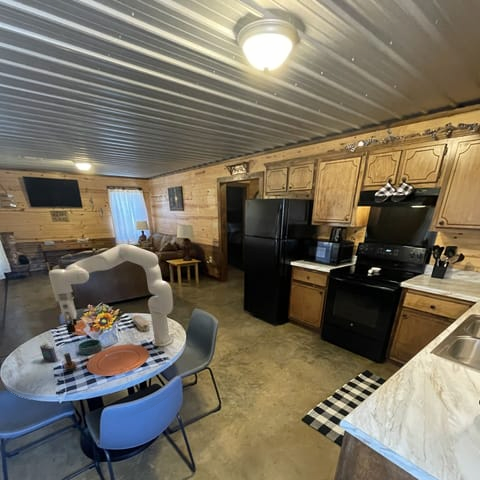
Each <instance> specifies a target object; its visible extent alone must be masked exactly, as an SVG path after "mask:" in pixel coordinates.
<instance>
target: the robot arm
mask: <svg viewBox="0 0 480 480" xmlns="http://www.w3.org/2000/svg"><path fill="white" fill-rule="evenodd" d="M124 262H130V263H133V264H136V265H138V266H141V267H142V268H143V270H144V272H145V275H146V281H147V283H146V284H147V289H148V292H149V294H152V295H153V296H151V297H149V299H148V301H147V307H148V310H149V313H150V317H151V318H150V319H151V325H152V332H153V339H152V340H151V341H152V344H153V346H156V347H165V346H168V345H170V344H171V343H172V342H173V338H172V336H174V335H175V332H174V331H172V332H170V331H169V323H168V315H170V314H171V313H172V312H173V309H174V297H173V290H172V287H171V285H170V283H168V282H167V281H165V280H163V277H162V272H161V267H160V265H159V257H158V256H157V254H155V253H154V252H152V251H149V250H146V249H144V248H141V247H138V246H136V245H133V244H127V243H121V244H118V245H115V246H114V247H112V248H109V249H107V250H105V251H103V252H101V253H98V254H94V255H92V256H89V257H86V258H83V259H80V260H78V261H76V262H74V263H71V264H69V265H68V266H67V267H65V268H55V269H51V270H49V272H48V277H49V281H50V285H51V288H52V293H53V295H54V299H55V302H58V303H59V307H60V308H59V309H60V312H61V315H62V318H63V321H65V325H66V326H65V327H66V330H67V334H71V333H76V332H77V331H76V326H78V323H77V315H78V313H77V309H76V306H75V302H74V299H75V295H74V291H73V287H72V285H82V284H85V283H87V282H88V281H89V279H90V274H91V273H94V272H99V271H107V270H111V269H113V268H115V267H116V266H118V265H121V264H123V263H124Z"/></svg>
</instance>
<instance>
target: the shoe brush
mask: <svg viewBox="0 0 480 480" xmlns="http://www.w3.org/2000/svg"><path fill="white" fill-rule="evenodd" d="M131 318H132V322H133V324H134V325H135V326H136V327H137V328H138V330H139V331H141V332H147V331H149V330H150V323H149V322H148V321H147V320H146V319H145V318H144V317H143V316H141V315H134V316H132V317H131Z"/></svg>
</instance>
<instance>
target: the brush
mask: <svg viewBox="0 0 480 480" xmlns="http://www.w3.org/2000/svg"><path fill="white" fill-rule="evenodd" d="M63 357H64V360H65V363H64V364H63V368H64V371H65V372H66V373H70V372H74V371H76V370H77V362H76V361H74V360H72V357H71V353H70V352H66V353H63Z"/></svg>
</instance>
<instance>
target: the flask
mask: <svg viewBox="0 0 480 480" xmlns="http://www.w3.org/2000/svg"><path fill="white" fill-rule="evenodd" d="M39 348H40V351H41V354H42V358H43V361H45V362H52V363H54V362H58V357H57V353H56V349H55V346H50V345H48V343H43V344H41V345H40V346H39Z"/></svg>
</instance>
